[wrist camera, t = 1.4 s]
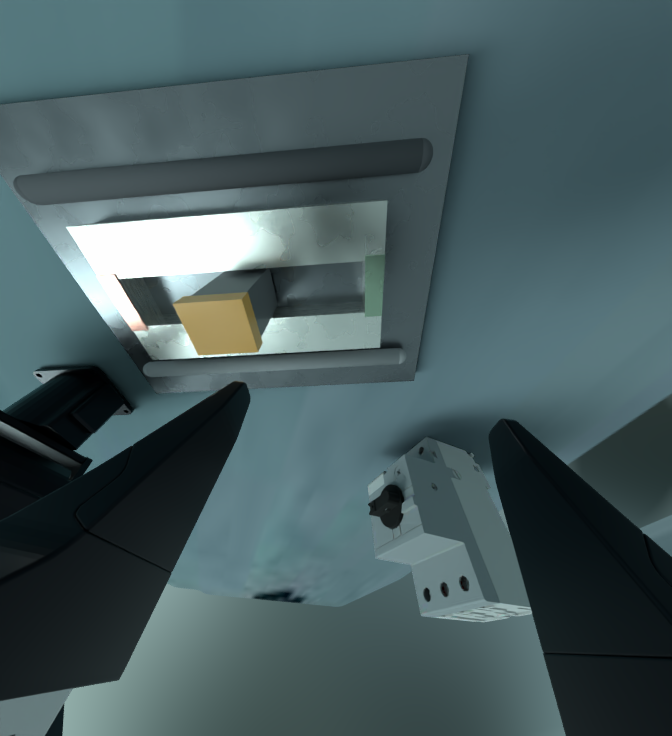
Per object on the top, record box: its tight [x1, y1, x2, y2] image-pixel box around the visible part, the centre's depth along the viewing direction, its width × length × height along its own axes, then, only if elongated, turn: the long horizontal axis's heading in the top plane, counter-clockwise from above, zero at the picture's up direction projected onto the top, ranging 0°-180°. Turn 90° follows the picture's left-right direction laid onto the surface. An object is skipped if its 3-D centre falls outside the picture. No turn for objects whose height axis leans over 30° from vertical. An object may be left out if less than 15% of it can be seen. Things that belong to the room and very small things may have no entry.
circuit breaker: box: [368, 437, 532, 622], centre depth 26 cm, size 8×14×15 cm, turn 63°
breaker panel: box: [0, 54, 469, 394], centre depth 17 cm, size 26×20×3 cm
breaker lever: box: [173, 268, 278, 356], centre depth 15 cm, size 3×3×6 cm
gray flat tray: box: [13, 138, 433, 377], centre depth 17 cm, size 23×14×1 cm, turn 94°
